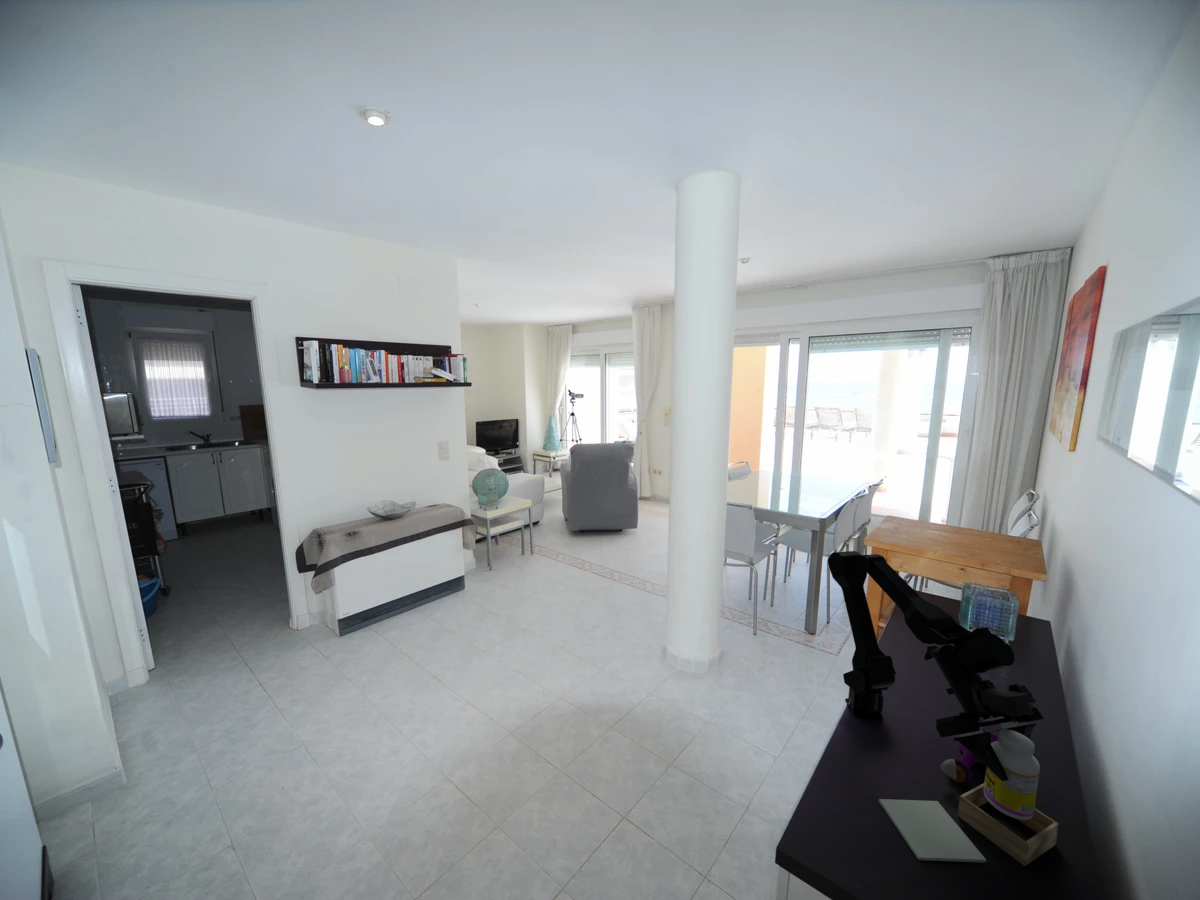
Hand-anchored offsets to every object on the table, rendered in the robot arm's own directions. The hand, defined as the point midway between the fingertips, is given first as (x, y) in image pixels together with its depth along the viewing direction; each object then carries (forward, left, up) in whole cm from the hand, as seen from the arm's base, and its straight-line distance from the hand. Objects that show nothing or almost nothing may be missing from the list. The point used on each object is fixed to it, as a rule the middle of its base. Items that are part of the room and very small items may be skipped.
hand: (1020, 777), depth 77 cm
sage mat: (-14, -1, -11) cm, 18 cm away
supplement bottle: (0, +1, -7) cm, 7 cm away
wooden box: (0, +1, -11) cm, 11 cm away
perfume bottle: (+9, +20, -8) cm, 23 cm away
